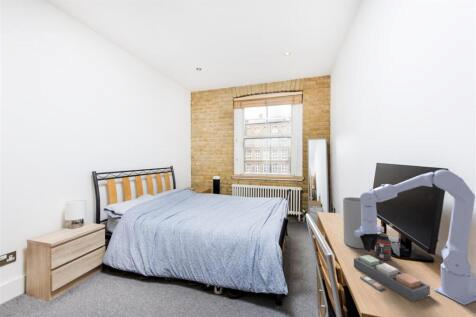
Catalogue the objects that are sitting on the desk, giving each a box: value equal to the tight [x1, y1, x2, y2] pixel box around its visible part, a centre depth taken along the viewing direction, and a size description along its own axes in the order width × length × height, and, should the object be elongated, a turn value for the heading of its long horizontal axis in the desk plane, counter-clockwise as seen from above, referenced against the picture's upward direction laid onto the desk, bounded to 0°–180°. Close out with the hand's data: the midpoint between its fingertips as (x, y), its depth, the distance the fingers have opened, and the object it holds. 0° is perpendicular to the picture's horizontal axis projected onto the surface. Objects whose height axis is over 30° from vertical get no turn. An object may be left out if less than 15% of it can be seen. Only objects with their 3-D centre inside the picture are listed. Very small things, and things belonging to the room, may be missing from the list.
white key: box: [376, 262, 399, 277], centre depth 81 cm, size 5×5×3 cm
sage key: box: [359, 254, 380, 267], centre depth 88 cm, size 5×5×3 cm
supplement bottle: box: [375, 232, 392, 261], centre depth 97 cm, size 6×6×11 cm
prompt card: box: [359, 275, 386, 291], centre depth 78 cm, size 3×8×1 cm, turn 18°
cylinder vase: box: [342, 196, 365, 250], centre depth 113 cm, size 12×12×25 cm
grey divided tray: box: [353, 256, 431, 302], centre depth 81 cm, size 9×24×4 cm, turn 18°
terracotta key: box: [396, 272, 421, 290], centre depth 74 cm, size 5×5×3 cm
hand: (369, 250), depth 88 cm, fingers closed
